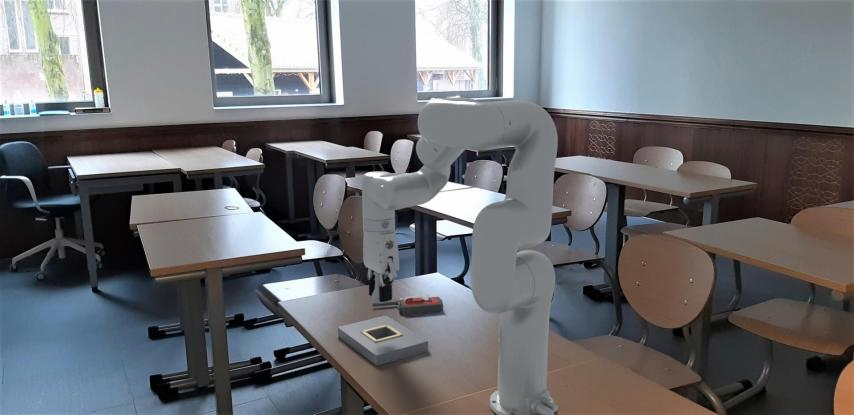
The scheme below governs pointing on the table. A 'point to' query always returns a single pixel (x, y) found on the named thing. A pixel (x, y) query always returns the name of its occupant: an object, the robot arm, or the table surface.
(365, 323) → the socket board
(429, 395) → the table surface
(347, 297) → the table surface
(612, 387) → the table surface
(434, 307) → the red gray switch box
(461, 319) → the table surface
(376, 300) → the rook chess piece
